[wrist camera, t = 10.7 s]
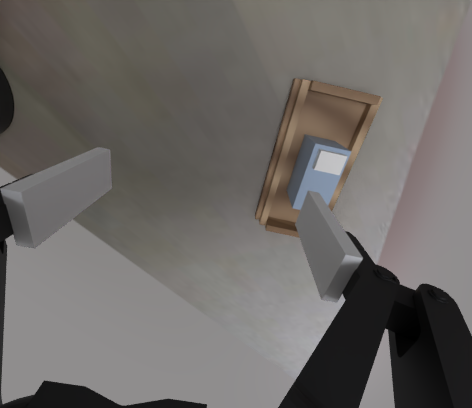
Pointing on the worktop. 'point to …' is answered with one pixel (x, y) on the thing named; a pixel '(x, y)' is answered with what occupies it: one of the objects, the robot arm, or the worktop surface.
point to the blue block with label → (317, 169)
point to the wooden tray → (319, 125)
